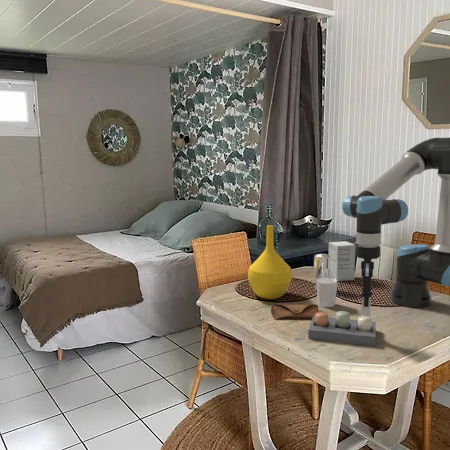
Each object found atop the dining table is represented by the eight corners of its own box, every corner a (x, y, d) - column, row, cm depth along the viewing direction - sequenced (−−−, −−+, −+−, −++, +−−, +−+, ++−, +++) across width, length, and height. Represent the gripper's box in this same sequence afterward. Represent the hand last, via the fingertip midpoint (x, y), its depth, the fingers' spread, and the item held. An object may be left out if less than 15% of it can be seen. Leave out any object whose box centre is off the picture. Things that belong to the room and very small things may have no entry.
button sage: (349, 323, 157) (350, 311, 157) (349, 328, 153) (349, 316, 153) (336, 321, 159) (336, 310, 158) (335, 326, 155) (335, 315, 154)
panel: (375, 330, 159) (375, 321, 159) (375, 345, 147) (375, 337, 147) (313, 323, 166) (313, 315, 165) (308, 338, 154) (308, 329, 153)
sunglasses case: (272, 320, 169) (272, 302, 172) (271, 323, 176) (270, 305, 178) (322, 319, 169) (321, 301, 172) (319, 323, 176) (317, 305, 178)
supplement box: (354, 280, 217) (356, 244, 214) (336, 281, 215) (337, 246, 212) (345, 274, 226) (346, 240, 224) (327, 276, 224) (328, 241, 221)
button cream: (371, 328, 155) (371, 317, 155) (371, 333, 151) (371, 321, 151) (357, 327, 157) (358, 315, 156) (357, 332, 153) (357, 320, 152)
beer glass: (331, 287, 206) (332, 254, 204) (326, 292, 200) (327, 258, 198) (317, 285, 210) (317, 253, 207) (311, 289, 204) (311, 256, 201)
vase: (300, 296, 195) (301, 226, 190) (266, 305, 185) (267, 231, 179) (272, 286, 210) (272, 220, 204) (239, 294, 199) (238, 225, 194)
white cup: (336, 308, 181) (337, 283, 179) (316, 307, 182) (316, 282, 180) (336, 301, 188) (336, 278, 186) (316, 300, 190) (316, 277, 188)
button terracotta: (328, 324, 160) (328, 312, 159) (327, 328, 156) (327, 317, 155) (315, 322, 161) (315, 311, 160) (314, 327, 157) (314, 316, 156)
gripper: (356, 240, 156) (354, 307, 161) (355, 248, 144) (353, 321, 148) (380, 241, 154) (377, 308, 158) (380, 250, 142) (377, 323, 146)
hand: (365, 314), depth 153 cm, fingers closed
